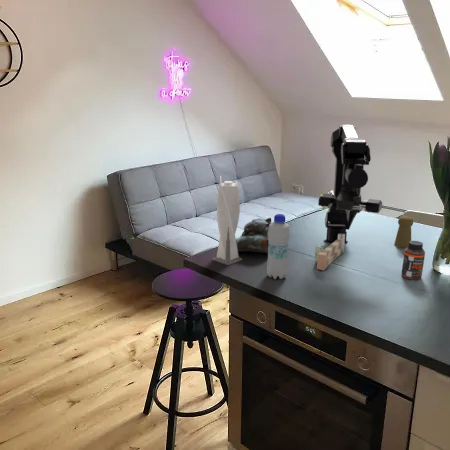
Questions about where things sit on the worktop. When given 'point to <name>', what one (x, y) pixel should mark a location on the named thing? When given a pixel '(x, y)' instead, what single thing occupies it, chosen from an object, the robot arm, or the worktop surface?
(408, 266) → the supplement bottle
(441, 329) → the worktop surface
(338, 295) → the worktop surface
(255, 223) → the grey lumpy mass
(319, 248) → the gate posts
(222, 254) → the skyscraper
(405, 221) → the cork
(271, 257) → the bottle
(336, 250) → the light brown wooden plank
